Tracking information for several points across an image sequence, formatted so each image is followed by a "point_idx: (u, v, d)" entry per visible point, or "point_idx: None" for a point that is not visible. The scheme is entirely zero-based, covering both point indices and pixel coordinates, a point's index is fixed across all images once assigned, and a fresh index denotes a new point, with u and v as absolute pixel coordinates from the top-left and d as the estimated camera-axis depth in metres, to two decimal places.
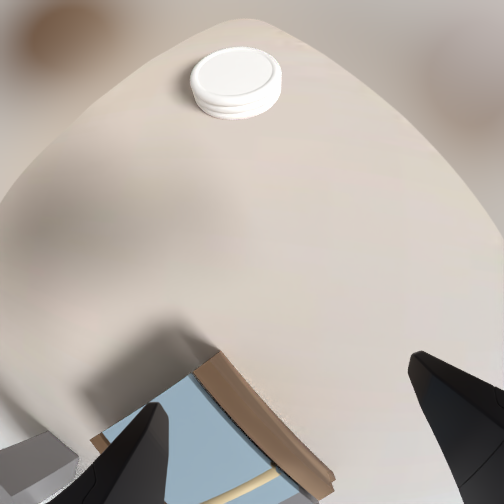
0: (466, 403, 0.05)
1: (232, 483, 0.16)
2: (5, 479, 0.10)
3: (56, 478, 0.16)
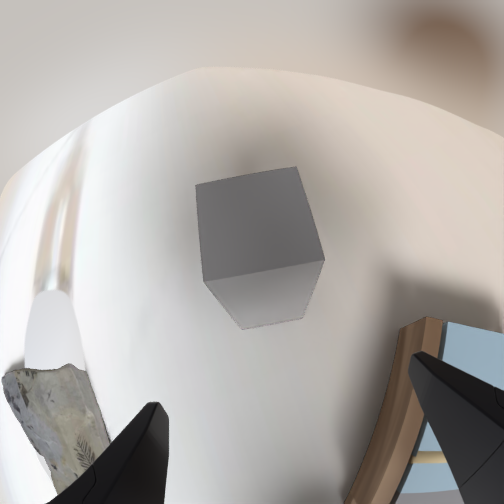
0: (466, 403, 0.05)
1: None
2: None
3: (280, 311, 0.19)
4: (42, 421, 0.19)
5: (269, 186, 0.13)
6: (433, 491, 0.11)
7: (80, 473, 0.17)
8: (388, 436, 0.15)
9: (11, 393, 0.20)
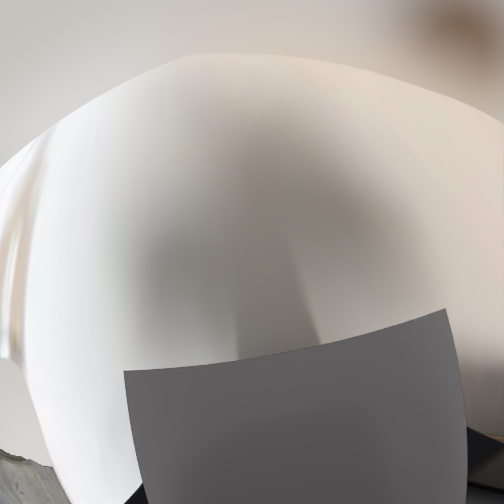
0: None
1: None
2: None
3: None
4: None
5: (373, 399, 0.03)
6: None
7: None
8: None
9: None
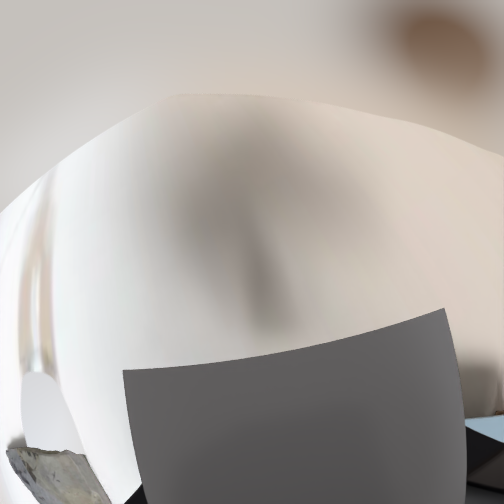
0: None
1: None
2: None
3: None
4: (52, 495, 0.15)
5: (371, 398, 0.03)
6: None
7: None
8: None
9: (18, 467, 0.16)
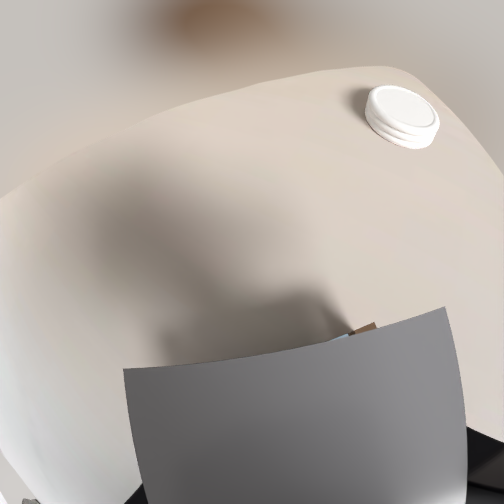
0: None
1: None
2: None
3: None
4: None
5: (372, 397, 0.03)
6: None
7: None
8: None
9: None
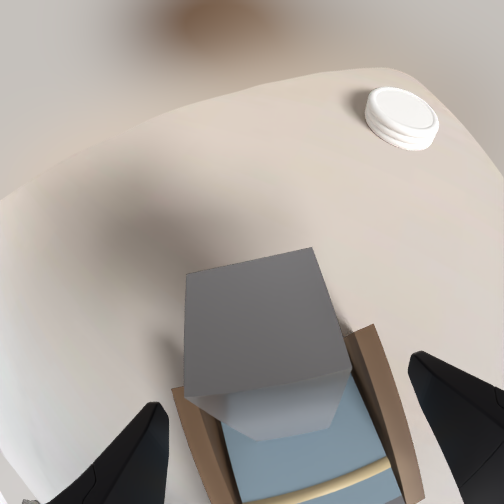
0: (466, 403, 0.05)
1: (337, 471, 0.14)
2: None
3: (301, 424, 0.13)
4: None
5: (277, 274, 0.10)
6: None
7: None
8: None
9: None
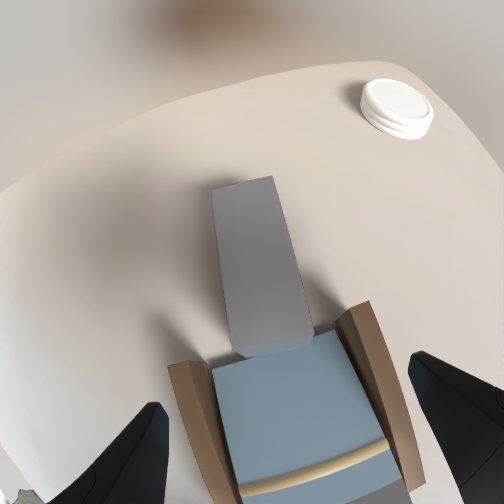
0: (466, 403, 0.05)
1: (334, 451, 0.14)
2: None
3: (270, 271, 0.18)
4: None
5: None
6: None
7: None
8: None
9: None
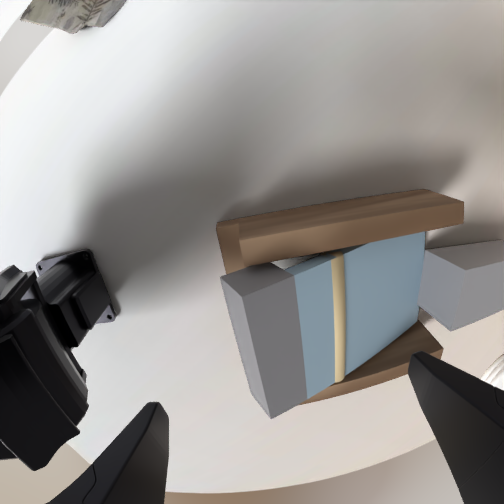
0: (466, 403, 0.05)
1: (350, 339, 0.18)
2: None
3: (488, 299, 0.17)
4: None
5: None
6: (300, 322, 0.16)
7: None
8: (339, 213, 0.17)
9: None
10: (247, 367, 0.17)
